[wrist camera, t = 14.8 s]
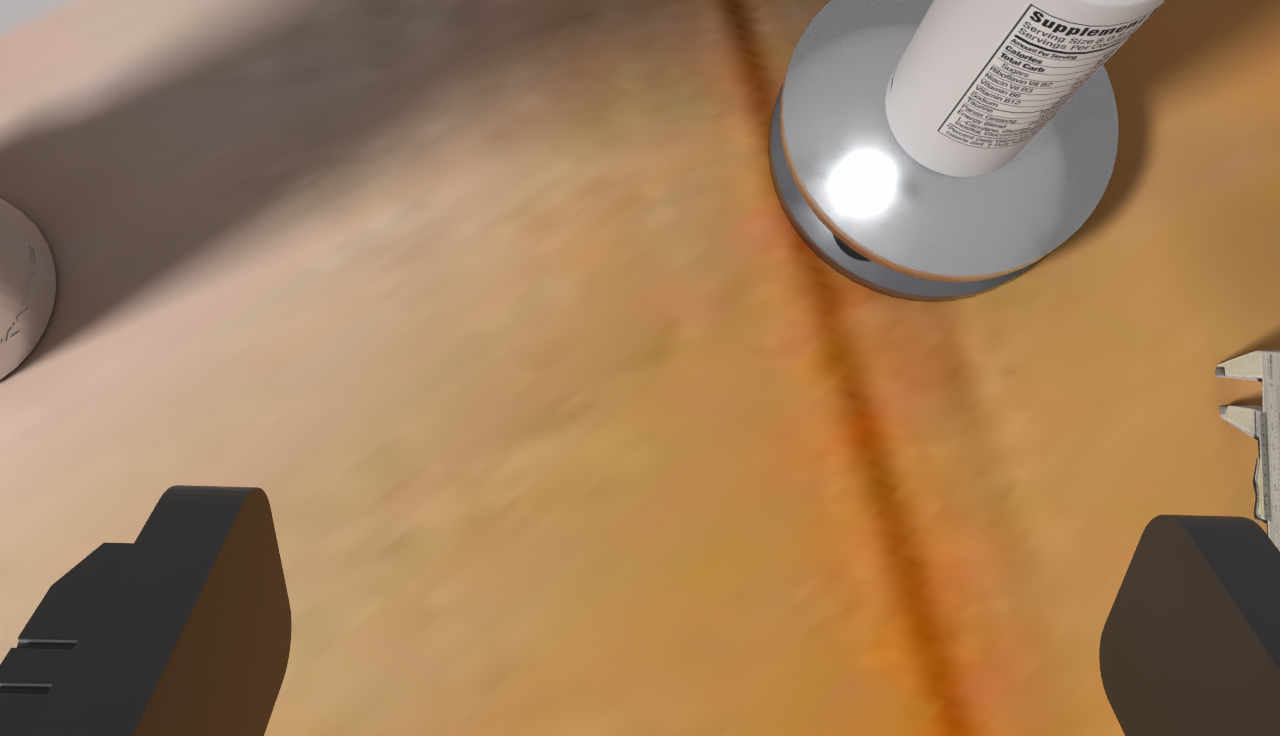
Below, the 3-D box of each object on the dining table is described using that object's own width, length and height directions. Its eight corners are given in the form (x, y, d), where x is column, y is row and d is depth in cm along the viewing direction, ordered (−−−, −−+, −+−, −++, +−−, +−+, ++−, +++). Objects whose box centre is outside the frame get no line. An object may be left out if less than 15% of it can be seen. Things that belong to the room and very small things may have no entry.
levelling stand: (754, 281, 45) (768, 252, 41) (782, -6, 48) (798, -59, 44) (1071, 320, 45) (1115, 295, 41) (1080, 31, 48) (1122, -18, 44)
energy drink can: (1007, 44, 44) (1212, -231, 29) (1036, 177, 42) (1266, -39, 28) (867, 58, 43) (1003, -213, 29) (893, 194, 42) (1048, -17, 27)
